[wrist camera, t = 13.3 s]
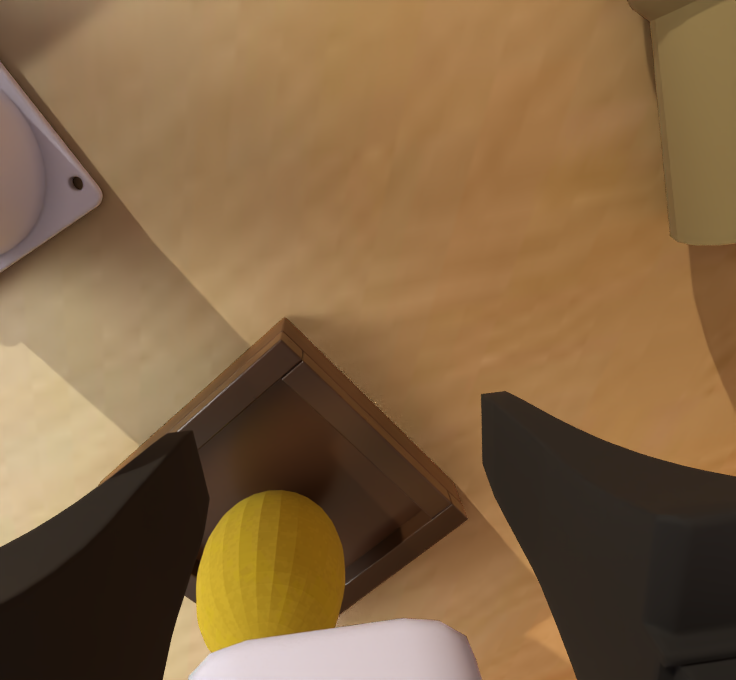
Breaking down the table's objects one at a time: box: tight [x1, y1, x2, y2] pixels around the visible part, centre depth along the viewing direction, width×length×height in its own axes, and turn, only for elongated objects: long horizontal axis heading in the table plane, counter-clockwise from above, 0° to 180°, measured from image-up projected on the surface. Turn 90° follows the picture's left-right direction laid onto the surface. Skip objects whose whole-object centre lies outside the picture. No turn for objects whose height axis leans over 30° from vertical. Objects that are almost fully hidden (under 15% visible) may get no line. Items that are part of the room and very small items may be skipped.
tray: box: [98, 317, 468, 615], centre depth 24 cm, size 12×12×3 cm
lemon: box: [196, 490, 345, 653], centre depth 20 cm, size 6×6×8 cm
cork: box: [627, 0, 736, 245], centre depth 18 cm, size 6×6×11 cm
